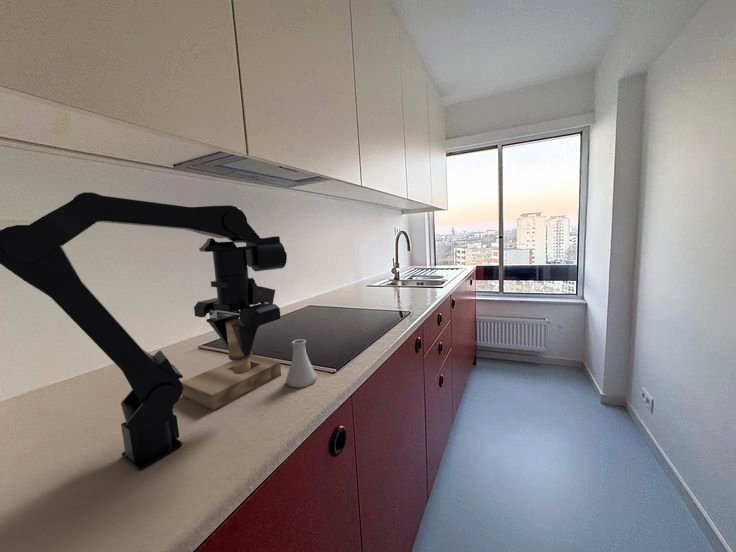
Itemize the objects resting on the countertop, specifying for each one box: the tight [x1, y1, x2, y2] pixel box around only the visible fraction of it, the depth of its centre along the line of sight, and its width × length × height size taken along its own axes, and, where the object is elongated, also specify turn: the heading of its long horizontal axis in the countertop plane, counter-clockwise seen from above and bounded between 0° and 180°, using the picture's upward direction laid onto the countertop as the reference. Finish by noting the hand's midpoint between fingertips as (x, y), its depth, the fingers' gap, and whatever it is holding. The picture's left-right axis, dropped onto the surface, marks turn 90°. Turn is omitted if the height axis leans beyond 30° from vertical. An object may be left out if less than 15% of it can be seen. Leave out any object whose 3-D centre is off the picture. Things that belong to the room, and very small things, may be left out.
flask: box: [285, 338, 318, 388], centre depth 73 cm, size 7×7×10 cm
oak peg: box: [226, 318, 253, 374], centre depth 59 cm, size 4×4×10 cm
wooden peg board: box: [181, 354, 282, 412], centre depth 72 cm, size 18×12×4 cm, turn 149°
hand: (240, 353), depth 60 cm, fingers closed on oak peg, 4 cm apart
